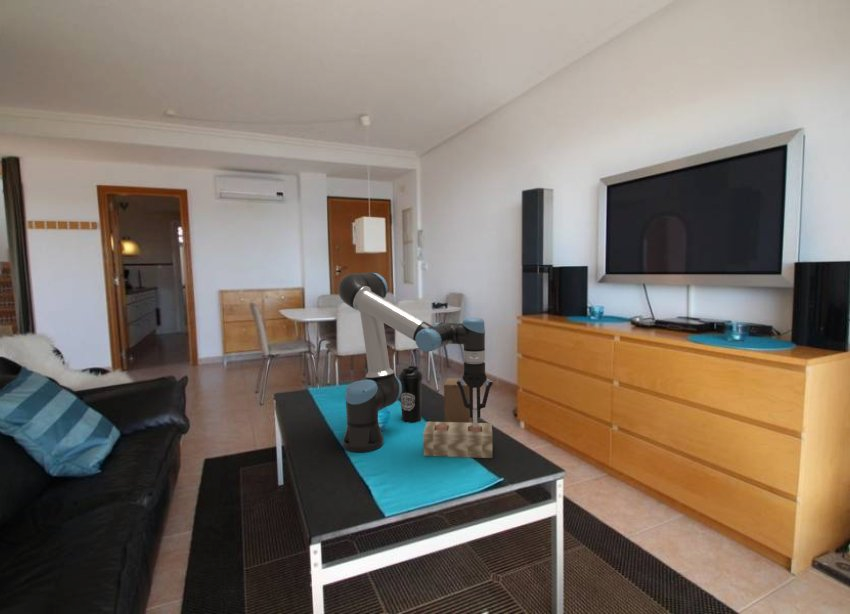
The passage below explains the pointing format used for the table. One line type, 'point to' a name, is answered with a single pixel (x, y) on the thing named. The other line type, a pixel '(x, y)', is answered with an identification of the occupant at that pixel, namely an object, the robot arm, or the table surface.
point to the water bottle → (411, 394)
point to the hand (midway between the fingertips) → (475, 426)
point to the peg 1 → (441, 427)
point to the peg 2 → (475, 428)
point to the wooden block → (455, 402)
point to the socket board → (458, 440)
